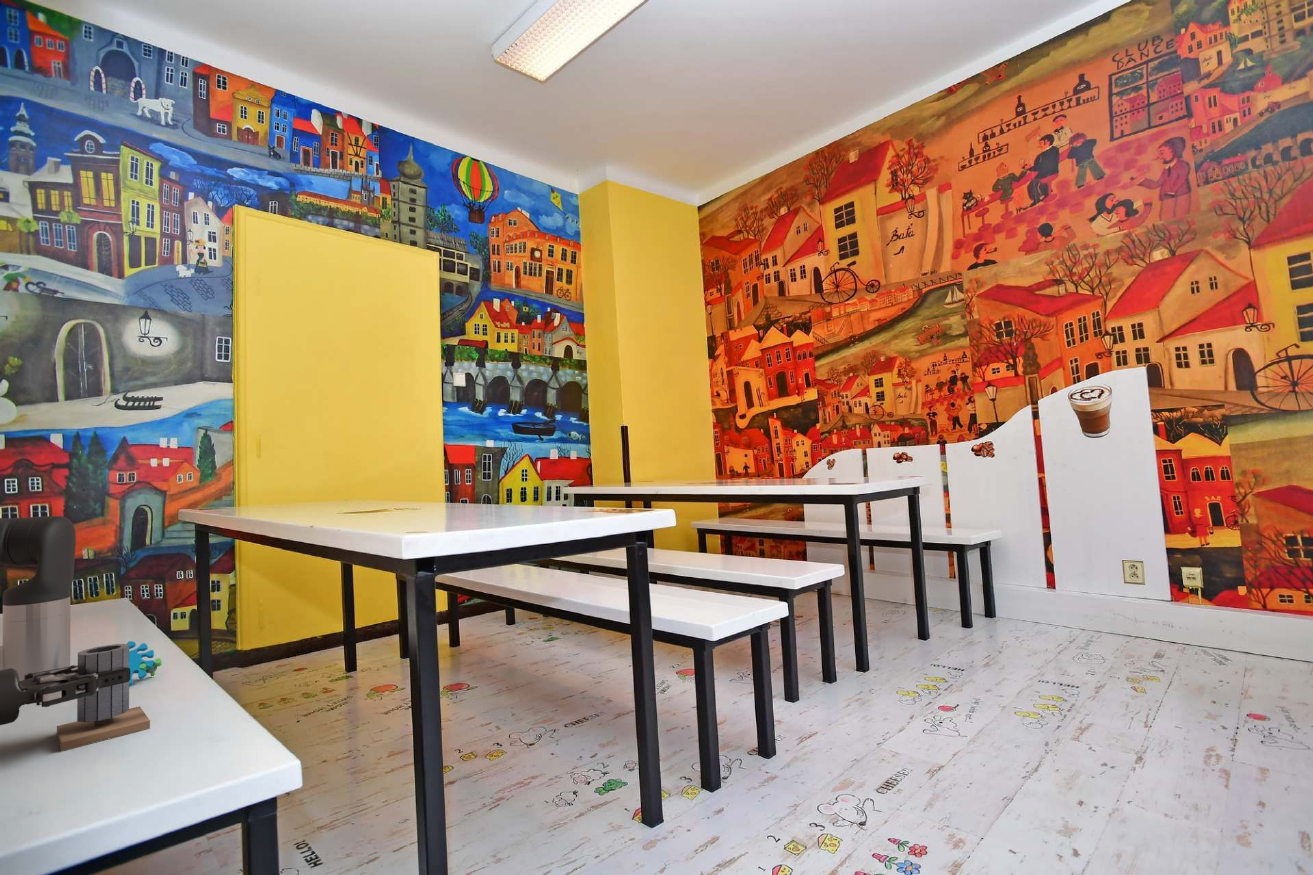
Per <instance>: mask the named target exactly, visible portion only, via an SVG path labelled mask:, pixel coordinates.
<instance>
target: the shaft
mask: <svg viewBox="0 0 1313 875" xmlns="http://www.w3.org/2000/svg"><path fill="white" fill-rule="evenodd" d="M111 722H113V717H112V718H108V719H104V720H99V721H98V720H97V721H94V726H102V725H106V724H109V723H111Z"/></svg>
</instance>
